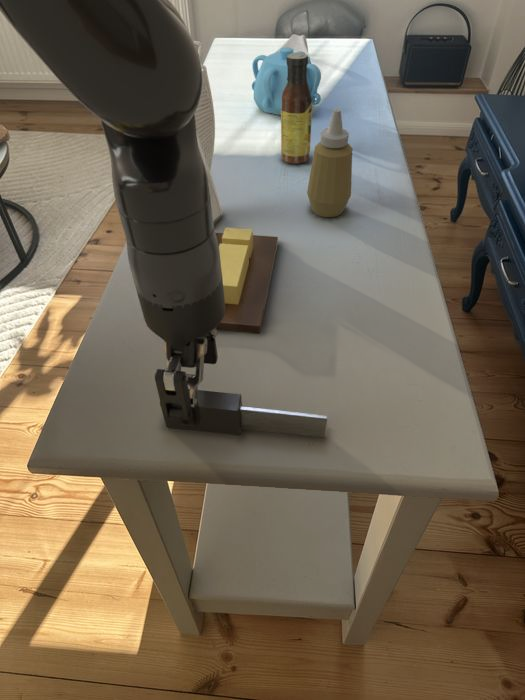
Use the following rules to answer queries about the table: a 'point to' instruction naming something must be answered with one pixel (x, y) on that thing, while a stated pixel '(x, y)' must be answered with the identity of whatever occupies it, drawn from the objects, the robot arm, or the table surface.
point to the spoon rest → (297, 44)
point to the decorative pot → (279, 80)
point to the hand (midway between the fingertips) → (199, 390)
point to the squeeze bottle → (331, 170)
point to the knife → (248, 417)
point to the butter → (233, 270)
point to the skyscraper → (207, 134)
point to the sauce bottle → (296, 111)
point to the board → (252, 288)
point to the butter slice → (238, 237)
